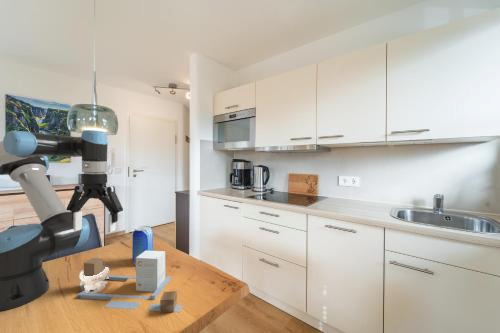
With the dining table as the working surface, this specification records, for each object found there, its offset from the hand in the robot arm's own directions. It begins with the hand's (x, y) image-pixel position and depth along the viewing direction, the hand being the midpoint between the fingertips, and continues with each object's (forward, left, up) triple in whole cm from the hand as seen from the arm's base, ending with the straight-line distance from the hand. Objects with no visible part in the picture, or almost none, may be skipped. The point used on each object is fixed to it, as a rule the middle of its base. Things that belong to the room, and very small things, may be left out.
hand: (94, 230), depth 77 cm
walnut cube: (+33, -10, -20) cm, 40 cm away
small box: (+21, +1, -21) cm, 30 cm away
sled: (+13, 0, -21) cm, 25 cm away
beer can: (+7, +20, -21) cm, 30 cm away
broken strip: (+25, -10, -21) cm, 34 cm away
